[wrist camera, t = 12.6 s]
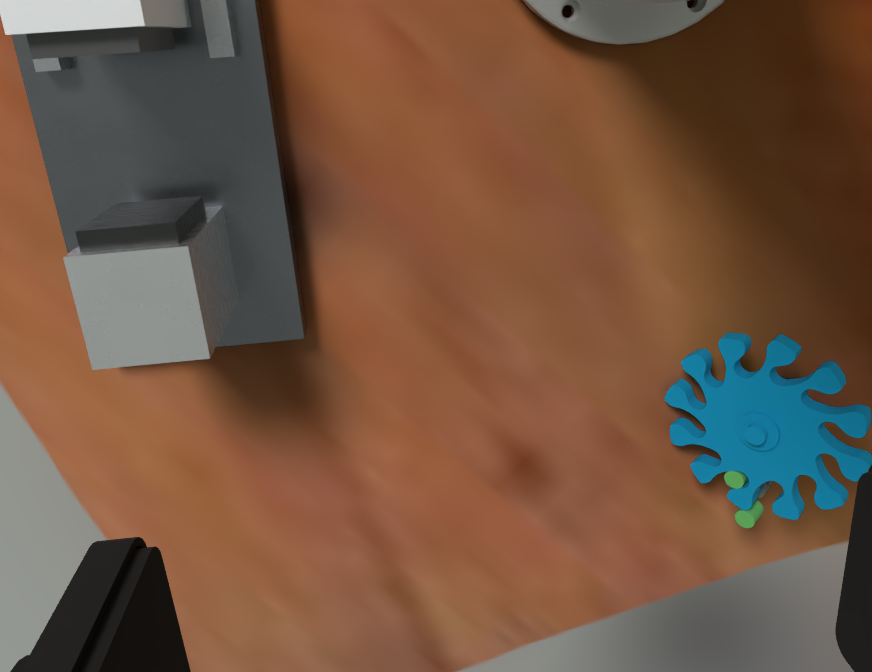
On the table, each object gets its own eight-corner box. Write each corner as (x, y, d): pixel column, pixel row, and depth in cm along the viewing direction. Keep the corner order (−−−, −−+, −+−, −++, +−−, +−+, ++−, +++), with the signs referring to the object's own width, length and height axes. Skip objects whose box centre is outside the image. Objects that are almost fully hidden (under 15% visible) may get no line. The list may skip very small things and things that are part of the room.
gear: (677, 312, 38) (898, 389, 33) (725, 276, 42) (930, 338, 36) (642, 486, 44) (826, 576, 38) (688, 439, 48) (860, 515, 42)
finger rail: (236, -159, 31) (189, -224, 23) (306, 327, 39) (289, 403, 31) (-18, -143, 30) (-155, -203, 23) (105, 346, 38) (35, 428, 30)
